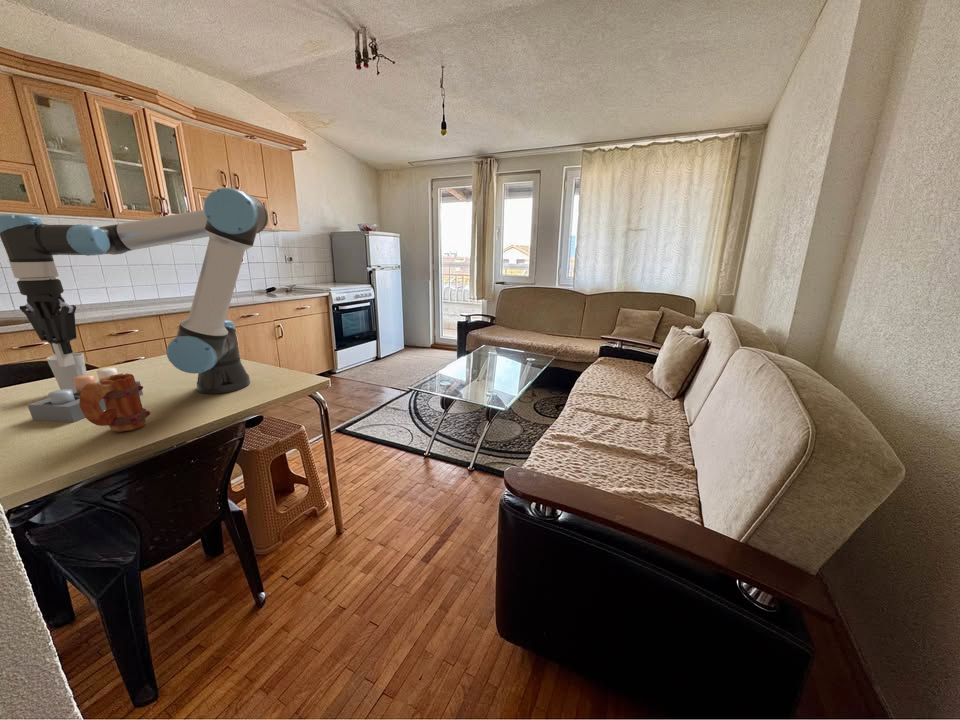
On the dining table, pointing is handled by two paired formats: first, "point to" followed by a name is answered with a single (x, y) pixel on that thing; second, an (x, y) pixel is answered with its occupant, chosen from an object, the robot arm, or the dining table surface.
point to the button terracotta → (83, 381)
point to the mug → (114, 403)
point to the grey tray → (61, 409)
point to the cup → (67, 370)
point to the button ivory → (106, 372)
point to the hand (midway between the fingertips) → (67, 365)
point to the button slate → (61, 396)
